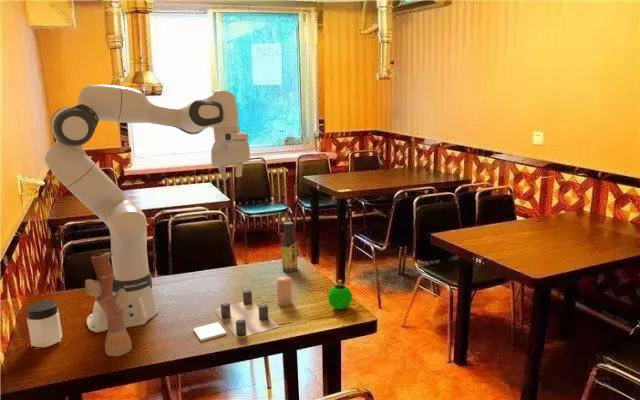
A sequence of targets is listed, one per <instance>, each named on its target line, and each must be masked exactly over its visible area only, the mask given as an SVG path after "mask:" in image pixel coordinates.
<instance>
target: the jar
mask: <svg viewBox="0 0 640 400" xmlns="http://www.w3.org/2000/svg"><path fill="white" fill-rule="evenodd" d="M26 316H27V319H26V323H27V327H28V334H29V339H30V345H31V347H32V346H35V347H47V346H50V345H53V344H55V343H57V342H60V341H61V342H62V340H61V338H62V339H63V330H62V324H61V319H60V311H59V308H58V304H57V302H56V301H55V300H42V301H37V302H34V303H31V304H30V305H28V306H27V307H26Z"/></svg>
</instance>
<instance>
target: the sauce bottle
mask: <svg viewBox="0 0 640 400" xmlns="http://www.w3.org/2000/svg"><path fill="white" fill-rule="evenodd" d="M282 226H283V235H282V237H281V264H282V265H281V266H282V270H283V271H284V272H286V273H287V272H288V273H292V272H295V271H297V270H298V243H297V238H296V236H295V234H294V222H292V221H285V222H283V223H282Z"/></svg>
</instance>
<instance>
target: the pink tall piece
mask: <svg viewBox="0 0 640 400" xmlns="http://www.w3.org/2000/svg"><path fill="white" fill-rule="evenodd" d="M112 255H113V254H112V253H111V251H109V252H108V251H107V252H97V253H95V254H93V255H92V256H91V257H90V260H91V263H92V265H93V268H94V271H95V274H96V280H94V279H90V278H89V279H88V278H87V279H85V281H84V287H85V292H86V293H87V294H88V295H89V296H90V297H95V301H97V302H98V304H99V305H100V307H101V308H102V309H103V311H104V312H105V314H106V316H107V322H108V331H107V334H106V336H105V340H104V341H105V342H104V350H105V351H104V352H105V354H106V356H109V357H112V356H113V357H120V356H123V355H126V354H127V353H130V351H132V350H133V345H132V340H131V337H130V335H129V333H128V331H127V329H126V328H127V327H126V328H125V324H124V312H123V309H124V308H125V307H126V305H127V303H128V295H127V293H126V291H125V290H124V289H120V290H118V292H117V293H116V294H115V296H114V297H113V294H112V288H113V277H114V273H113V267H112V262H111V261H110V258H111V256H112Z"/></svg>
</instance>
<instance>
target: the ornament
mask: <svg viewBox="0 0 640 400" xmlns="http://www.w3.org/2000/svg"><path fill="white" fill-rule="evenodd" d="M342 282H343V281H342V279H338V280H337V284H336V285H334V286H332V287H331V288H330V289H329V291H328V295H327V299H328V303H329V304H330V305H331V306H332V307H333V308H334V309H336V310H343V309H346V308H347V307H348V306H350V305H351V303H352V300H353V294H352V291H351V289H350V288H349V287H347V286H346V285H345V284H343V283H342Z"/></svg>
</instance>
